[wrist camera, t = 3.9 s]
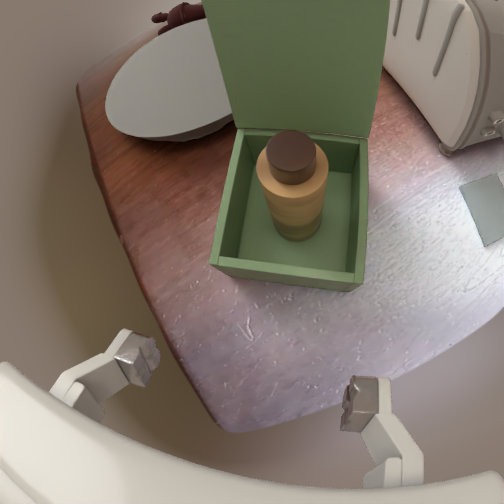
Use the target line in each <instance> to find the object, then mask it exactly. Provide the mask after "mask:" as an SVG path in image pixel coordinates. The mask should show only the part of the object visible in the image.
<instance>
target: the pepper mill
mask: <svg viewBox="0 0 504 504" xmlns="http://www.w3.org/2000/svg"><path fill="white" fill-rule="evenodd" d="M256 169H257V175H258V178H259V181H260V184H261V187H262V190H263V193H264V196H265V199H266V202H267V205H268V208H269V211H270V215H271V218H272V221H273V224H274V227H275V229H276V231H277V232H278V233H279V234H280V235H281V236H282V237H283V238H285V239H287V240H289V241H294V242H300V241H305V240H307V239H309V238H311V237H312V236H314V235H315V234H316V232H317V231H318V229H319V227H320V224H321V218H322V212H323V205H324V199H325V192H326V185H327V178H328V169H329V166H328V160H327V157H326V155H325V153H324V152H323V150H322V149H321V148H320V147H319V146H318V145H317V144H315V143H314V142H313V140H312V139H311V138H310V137H309V136H308V135H307V134H305V133H303V132H300V131H296V130H286V131H282V132H279V133H277V134H276V135H274V136H273V137H272V138H271V139H270V140H269V141H268V143H267V146H266V147H265V148H264V149H263V150H262V152H261V153H260V155H259V157H258V160H257V167H256Z"/></svg>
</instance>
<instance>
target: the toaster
mask: <svg viewBox="0 0 504 504" xmlns="http://www.w3.org/2000/svg"><path fill="white" fill-rule="evenodd" d="M383 67H384V68H385V69H386V70H387V71H388V72H389V73H390V74H391V76H392V77H393V78H394V79H395V80H396V81H397V83H398V84H399V85H400V86H401V87H402V89H403V90H404V91H405V92H406V93H407V95H408V96H409V97H410V98H411V100H412V101H413V102H414V104H415V105H416V106H417V107H418V109H419V110H420V111H421V113H422V114H423V116H424V117H425V118H426V120H427V121H428V122H429V124H430V125H431V127H432V128H433V130H434V131H435V133H436V134H437V136H438V137H439V138H440V140H441V142H440V144H439V150H440V151H441V153H442V154H444V155H445V156H451V155H452V154H453V151H455V150H456V149H463V148H464V147H465V146H468V145H472V144H475V143H479V142H482V141H486V140H490V139H493V138H497V137H502V138H503V140H504V0H390V11H389V21H388V30H387V38H386V46H385V53H384V60H383Z"/></svg>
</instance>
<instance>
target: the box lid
mask: <svg viewBox="0 0 504 504" xmlns="http://www.w3.org/2000/svg"><path fill="white" fill-rule="evenodd" d="M201 1H202V4H203V8H204V11H205V15H206V18H207V22H208V25H209V29H210V33H211V36H212V40H213V43H214V47H215V51H216V54H217V58H218V62H219V65H220V69H221V73H222V77H223V80H224V84H225V88H226V91H227V95H228V99H229V103H230V107H231V110H232V114H233V118H234V122H235V126H236V128H265V129H285V130H300V131H312V132H323V133H332V134H341V135H349V136H356V137H363V138H369V134H370V130H371V125H372V120H373V116H374V111H375V106H376V100H377V95H378V90H379V84H380V78H381V72H382V66H383V60H384V53H385V46H386V38H387V30H388V21H389V11H390V0H201Z"/></svg>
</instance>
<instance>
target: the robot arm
mask: <svg viewBox="0 0 504 504" xmlns="http://www.w3.org/2000/svg"><path fill="white" fill-rule="evenodd" d="M155 344H156V342H155V339H154V338H152V337H149V336H145V335H142V334H139V333H136V332H133V331H130V330H127V329H123V330H121V331H120V332H119V334H118V335H117V336H116V338H115V339H114V341H113V342H112V343H111V345H110V346H109V348H108V349H107V350H106V352H105V353H104V354H102V353H101V354H99V355H97V356H95V357H93V358H91V359H89V360H87V361H85V362H83V363H81V364H79V365H77V366H75V367H73V368H70V369H68V370H66V371H64V372H63V373H62V374H61V376H60V377H59V378H58V380H57V381H56V383H55V384H54V385H53V387H52V388H51V390H50V391H49V392H47V391H46V390H45V389H43V388H42V387H40V386H39V385H37V384H36V383H35V382H33V381H32V380H31V379H29V378H28V377H27V376H25V375H24V374H23V373H22V372H20V371H19V370H18V369H17V368H15V367H14V366H13V365H12V364H10V363H9V362H1V363H0V504H504V480H503V478H502V477H501V476H500V475H499V474H498V473H497V472H496V471H493V470H489V471H485V472H482V473H478V474H474V475H470V476H466V477H462V478H457V479H453V480H447V481H442V482H436V483H429V484H424V455H423V453H422V452H421V450H420V449H419V447H418V446H417V444H416V443H415V441H414V440H413V438H412V437H411V436H410V434H409V433H408V431H407V430H406V428H405V427H404V426H403V424H402V423H401V421H400V420H399V418H398V417H397V416H396V414H392V396H391V381H390V379H389V378H387V377H372V376H355V375H353V376H352V377H351V379H350V385H348V386H347V387H346V389H345V392H344V396H343V403H342V408H343V409H344V413H343V415H342V417H341V427H340V431H348V432H360V435H361V437H362V438H363V441H364V443H365V445H366V447H367V448H368V451H369V452H370V454H371V456H372V459H373V460H374V462H375V464H376V466H377V467H375V468H374V469H372V470H371V471H370V472H368V473H367V474H365V475H364V481H363V488H362V489H343V488H322V487H309V486H300V485H292V484H285V483H278V482H272V481H266V480H260V479H255V478H250V477H245V476H240V475H236V474H232V473H228V472H224V471H220V470H217V469H213V468H209V467H206V466H203V465H199V464H196V463H193V462H190V461H187V460H184V459H181V458H178V457H175V456H172V455H169V454H167V453H164V452H161V451H159V450H157V449H154V448H151V447H149V446H147V445H144V444H142V443H140V442H137V441H135V440H133V439H130V438H128V437H126V436H124V435H122V434H120V433H118V432H116V431H114V430H112V429H110V428H108V427H106V426H104V425H102V424H100V423H101V421H102V419H103V417H104V415H105V414H106V413H105V410H104V409H103V408H102V407H101V405H100V403H101V402H103V401H104V400H106V399H107V398H109V397H110V396H112V395H113V394H115V393H116V392H117V391H119V390H120V389H122V388H123V387H125V386H126V385H128V384H129V382H130V383H133V384H135V385H138V386H141V387H144V388H145V387H146V386H147V384H148V382H149V380H150V379H151V371H153V370H155V369H156V368H157V366H158V364H159V360H160V352H159V350H158V348H156V347H155Z"/></svg>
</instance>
